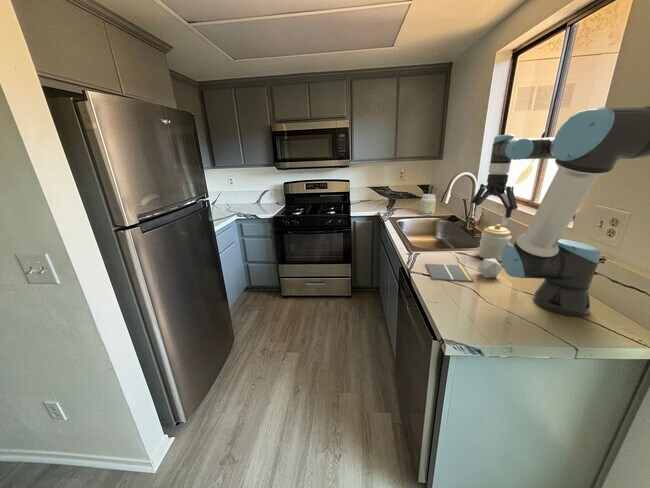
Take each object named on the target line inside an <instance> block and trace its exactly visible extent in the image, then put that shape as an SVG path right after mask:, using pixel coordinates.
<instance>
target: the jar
mask: <svg viewBox="0 0 650 488" xmlns="http://www.w3.org/2000/svg"><path fill="white" fill-rule="evenodd" d="M510 234H511V231H510V230H509V229H508V228H506V227H502V225H501V224H500V223H497V224H495V225H493V226H492V225H489V226H488V227H486V228H484V229H483V231H482V232H481V238H480V239H479V240H480V244H479V248H478V250H477V251H478V252H477V253H478V256H479V257H480V258H482V259H483V260H484V259H496V260H497V262H502V250H503V247H504V246H505V245H507V244H511V242H510V241H511V239H512V238H513V237H512V235H510Z"/></svg>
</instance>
